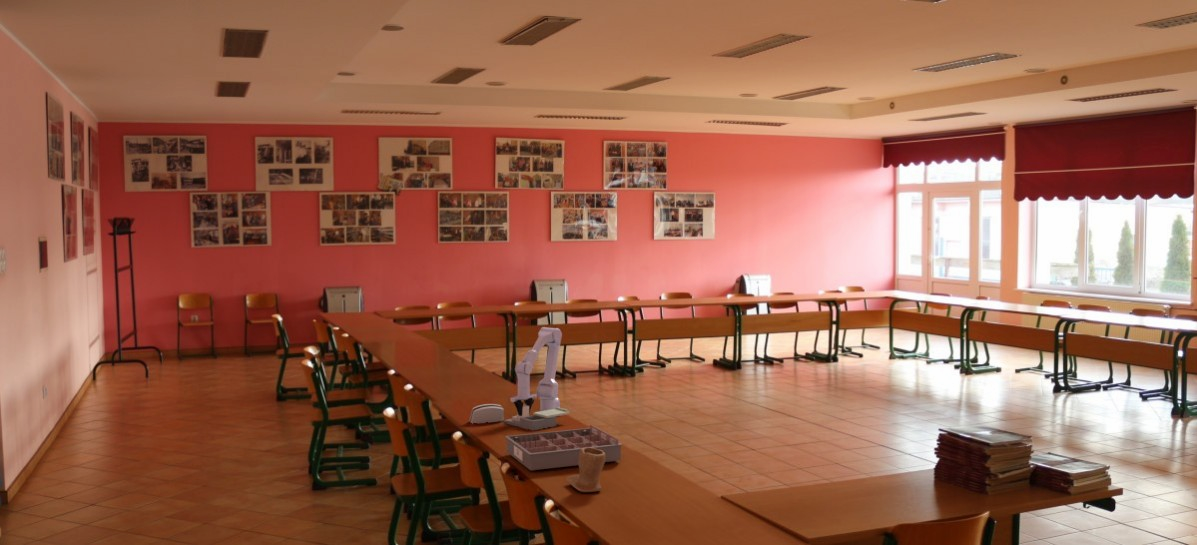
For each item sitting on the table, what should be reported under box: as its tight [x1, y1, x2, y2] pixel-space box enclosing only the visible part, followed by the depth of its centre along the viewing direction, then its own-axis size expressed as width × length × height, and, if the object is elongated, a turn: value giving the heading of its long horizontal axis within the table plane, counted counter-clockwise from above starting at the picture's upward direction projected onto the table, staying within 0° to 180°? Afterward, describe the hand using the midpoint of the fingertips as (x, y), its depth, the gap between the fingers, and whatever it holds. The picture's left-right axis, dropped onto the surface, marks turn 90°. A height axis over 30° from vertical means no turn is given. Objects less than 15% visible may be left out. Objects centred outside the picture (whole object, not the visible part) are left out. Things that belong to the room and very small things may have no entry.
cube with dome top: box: [516, 403, 530, 418], centre depth 453 cm, size 4×4×7 cm
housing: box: [504, 414, 557, 432], centre depth 449 cm, size 14×22×4 cm, turn 42°
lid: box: [532, 407, 570, 419], centre depth 450 cm, size 14×10×2 cm
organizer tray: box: [504, 423, 623, 471], centre depth 387 cm, size 32×40×10 cm
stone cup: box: [566, 447, 606, 493], centre depth 345 cm, size 15×12×15 cm
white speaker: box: [469, 403, 505, 425], centre depth 455 cm, size 17×5×10 cm, turn 112°
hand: (523, 414), depth 453 cm, fingers closed on cube with dome top, 4 cm apart
